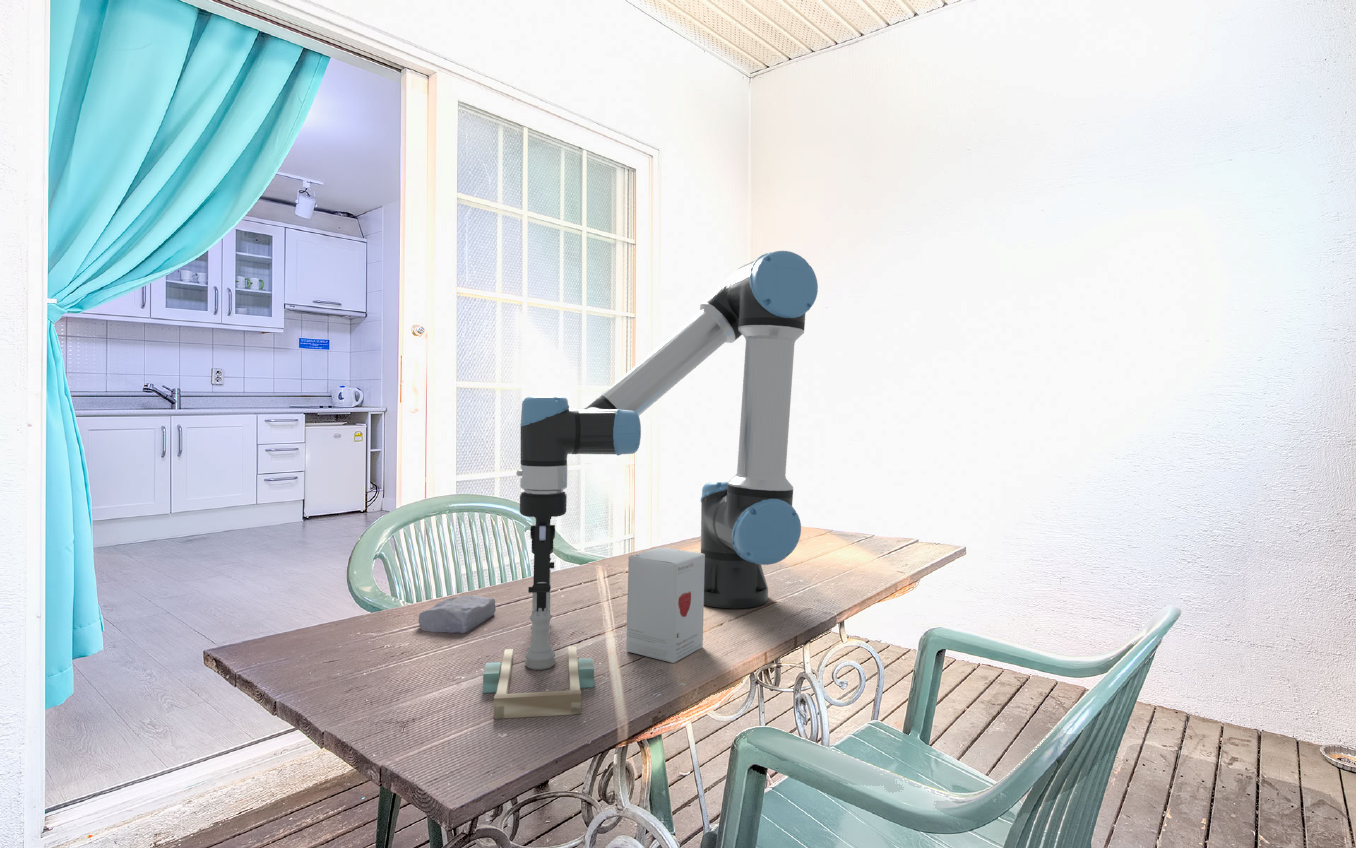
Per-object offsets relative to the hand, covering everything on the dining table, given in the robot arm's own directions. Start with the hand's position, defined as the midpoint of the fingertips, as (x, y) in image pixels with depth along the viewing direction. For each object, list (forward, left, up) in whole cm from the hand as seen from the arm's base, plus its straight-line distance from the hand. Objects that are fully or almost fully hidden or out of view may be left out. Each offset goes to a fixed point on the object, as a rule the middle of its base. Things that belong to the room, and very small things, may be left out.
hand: (541, 619), depth 117 cm
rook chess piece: (0, +14, -3) cm, 14 cm away
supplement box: (-19, +10, -3) cm, 22 cm away
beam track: (0, +21, -2) cm, 21 cm away
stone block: (+15, -9, -3) cm, 17 cm away
